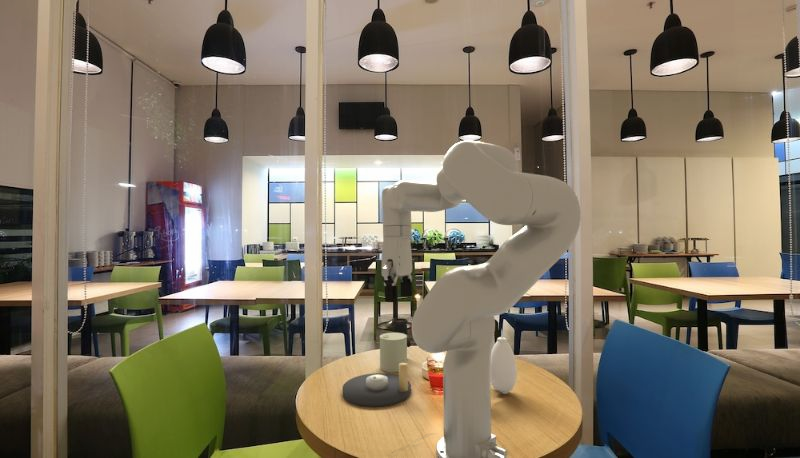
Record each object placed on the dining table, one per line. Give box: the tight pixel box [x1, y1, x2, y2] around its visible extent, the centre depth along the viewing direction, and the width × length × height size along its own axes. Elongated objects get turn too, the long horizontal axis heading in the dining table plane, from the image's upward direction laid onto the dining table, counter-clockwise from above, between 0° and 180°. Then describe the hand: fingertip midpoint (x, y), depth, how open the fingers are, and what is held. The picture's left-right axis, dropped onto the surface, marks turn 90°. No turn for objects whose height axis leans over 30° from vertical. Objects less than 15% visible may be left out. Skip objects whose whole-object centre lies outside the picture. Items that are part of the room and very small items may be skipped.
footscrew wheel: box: [342, 362, 412, 408], centre depth 103 cm, size 19×19×8 cm
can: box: [379, 332, 408, 373], centre depth 122 cm, size 9×9×12 cm
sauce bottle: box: [490, 329, 518, 395], centre depth 105 cm, size 8×8×18 cm
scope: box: [392, 317, 412, 348], centre depth 135 cm, size 8×14×10 cm
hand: (399, 299), depth 96 cm, fingers open, 9 cm apart
